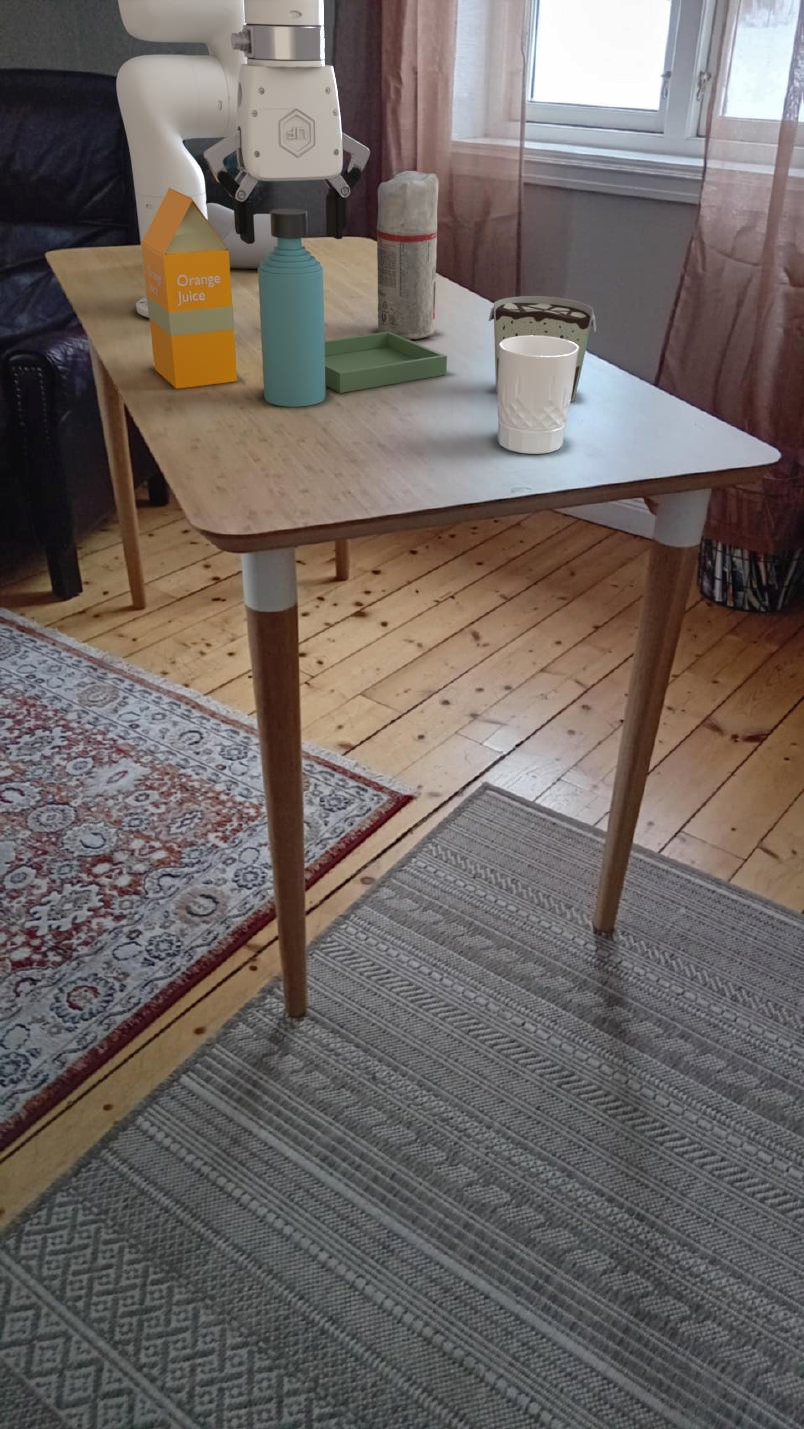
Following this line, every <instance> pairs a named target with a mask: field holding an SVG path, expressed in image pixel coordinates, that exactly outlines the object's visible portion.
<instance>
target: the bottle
mask: <svg viewBox="0 0 804 1429" xmlns="http://www.w3.org/2000/svg"><path fill="white" fill-rule="evenodd" d="M257 277H258V279H257V280H258V296H259V299H258V300H259V318H260V337H261V355H262V356H261V357H262V359H261V360H262V378H263V379H262V380H263V394H264V395H263V396H264V397H263V398H264V400H265V401H266V402H267V403H270V404H272V405H275V406H280V407H290V408H299V407H309V406H314V405H318V404H320V403H322V402H324V401H325V399H326V385H325V345H324V341H325V298H324V297H325V296H324V293H325V292H324V267H323V266H322V264H321V262H320V261H319V260H317V257H315V256H314V255H312V253H311V252H310V251H309V250H307V248H306V247H305V246H303V238H293V239H288V238H277V246H276V247H274V251H271V252H270V253H269V255H268V256H266V257H265V260H263V261H261V262H260V266H259V267H258V269H257Z"/></svg>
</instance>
